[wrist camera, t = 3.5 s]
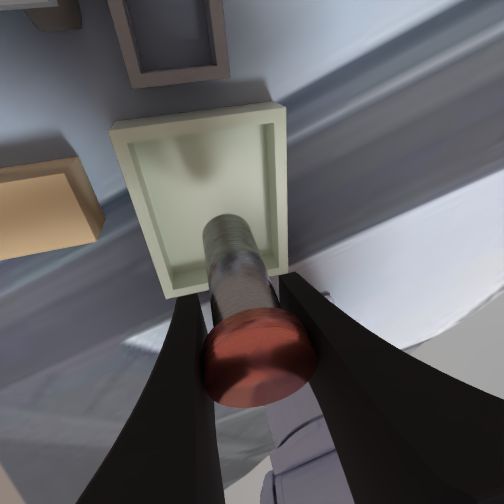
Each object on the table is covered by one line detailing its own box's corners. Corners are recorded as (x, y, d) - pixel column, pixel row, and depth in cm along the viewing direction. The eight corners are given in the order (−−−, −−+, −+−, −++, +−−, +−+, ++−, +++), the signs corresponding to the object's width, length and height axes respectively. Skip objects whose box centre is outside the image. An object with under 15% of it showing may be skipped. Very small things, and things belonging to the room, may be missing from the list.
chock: (106, 216, 17) (96, 241, 15) (-6, 237, 16) (-34, 266, 14) (79, 154, 15) (63, 172, 13) (-50, 174, 14) (-91, 197, 12)
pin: (261, 255, 14) (314, 392, 9) (199, 267, 14) (214, 417, 8) (256, 199, 13) (320, 326, 7) (186, 211, 12) (194, 354, 7)
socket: (224, 75, 14) (230, 77, 13) (135, 85, 14) (131, 89, 12) (210, -45, 12) (215, -59, 10) (102, -39, 11) (92, -53, 10)
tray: (278, 254, 21) (288, 272, 19) (166, 277, 20) (166, 299, 18) (272, 100, 15) (286, 107, 14) (115, 121, 14) (107, 131, 13)
